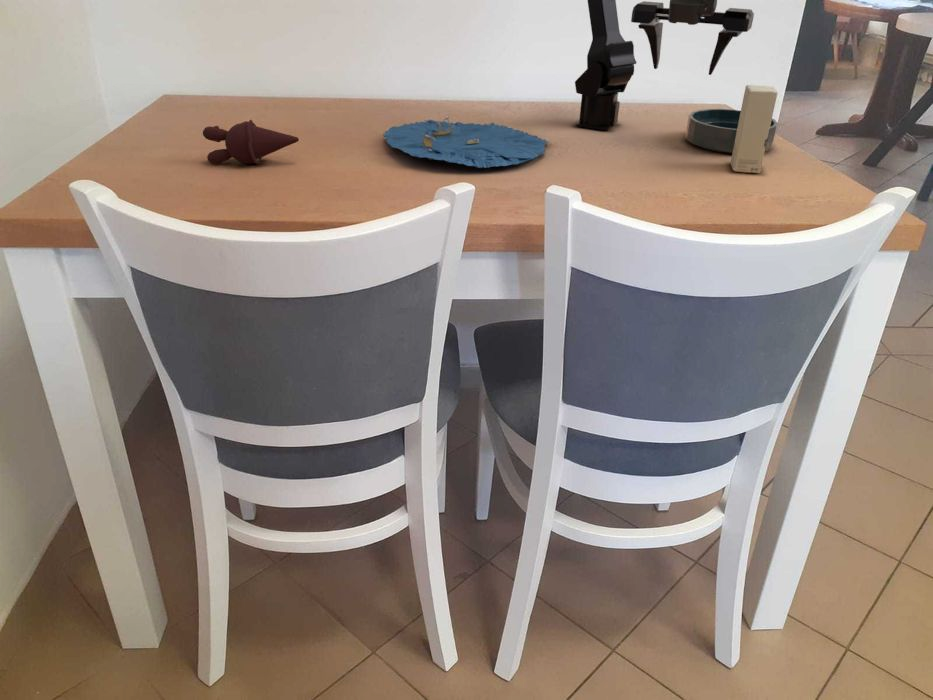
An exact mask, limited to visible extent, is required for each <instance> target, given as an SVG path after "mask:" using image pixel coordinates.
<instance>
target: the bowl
mask: <svg viewBox="0 0 933 700" xmlns="http://www.w3.org/2000/svg"><path fill="white" fill-rule="evenodd" d="M740 113H741V110H740V109H730V108H707V109H697V110H695V111H692V112H690V113H689V114H688V118H687V124H686V129H685V134H684V137H685V139H686V141H688V142H690V144H692V145H695V146H697V147H699V148H702V149H705V150H708V151H712V152H717V153H723V154H724V153H725V154H732V153H733V148H734V143H735V138H736V133H737V128H738V123H739V118H740ZM778 125H779V123H778V121H777V120H776V119H775V118H772V120H771V125H770V129H769V134H768V139H767V143H766V148H765V152H766V151H768V150H771V149H772V147H773V145H774V142H775V138H776V134H777V129H778V127H779V126H778Z"/></svg>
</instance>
